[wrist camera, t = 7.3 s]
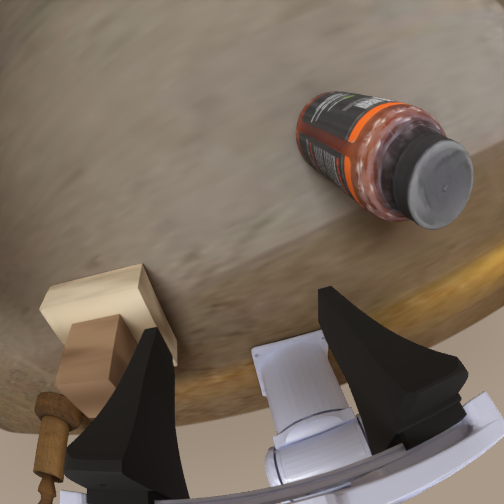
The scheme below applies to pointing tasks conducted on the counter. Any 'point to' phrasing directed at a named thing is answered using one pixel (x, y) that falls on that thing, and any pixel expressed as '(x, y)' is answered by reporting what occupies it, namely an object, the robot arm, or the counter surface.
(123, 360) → the walnut block
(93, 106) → the counter surface
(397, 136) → the supplement bottle
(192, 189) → the counter surface
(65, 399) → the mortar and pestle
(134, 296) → the birch base block
